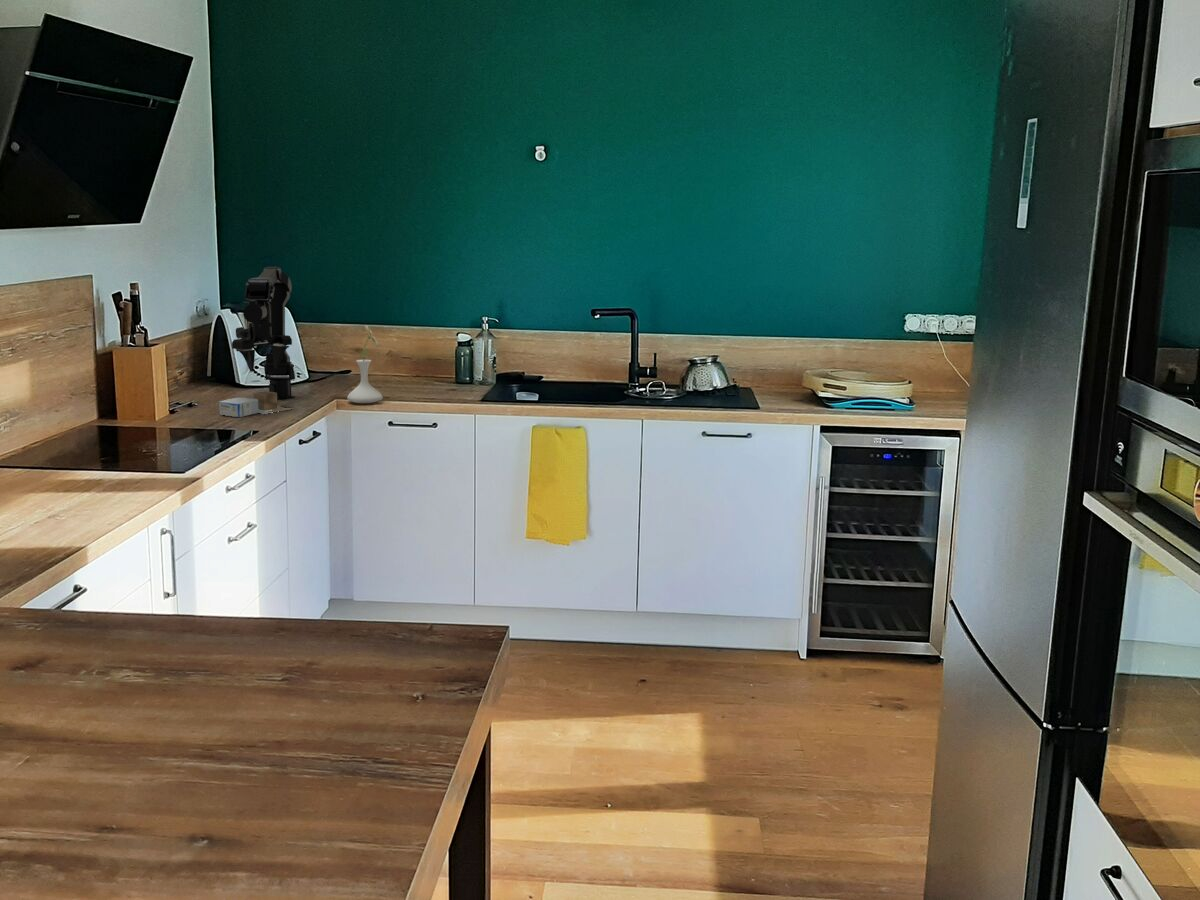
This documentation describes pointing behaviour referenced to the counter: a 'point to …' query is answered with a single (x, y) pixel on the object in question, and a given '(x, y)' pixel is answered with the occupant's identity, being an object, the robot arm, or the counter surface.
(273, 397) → the walnut block
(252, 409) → the medicine box
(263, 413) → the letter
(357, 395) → the flower in vase
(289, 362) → the robot arm
